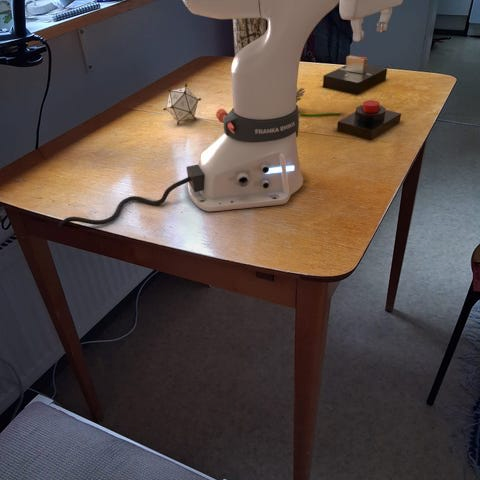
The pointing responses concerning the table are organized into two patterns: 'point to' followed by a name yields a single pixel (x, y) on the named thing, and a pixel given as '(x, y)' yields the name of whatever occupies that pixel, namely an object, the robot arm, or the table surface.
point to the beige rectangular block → (356, 64)
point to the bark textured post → (247, 31)
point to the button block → (368, 123)
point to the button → (371, 106)
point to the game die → (182, 104)
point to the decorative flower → (310, 114)
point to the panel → (354, 79)
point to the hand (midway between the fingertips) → (369, 36)
